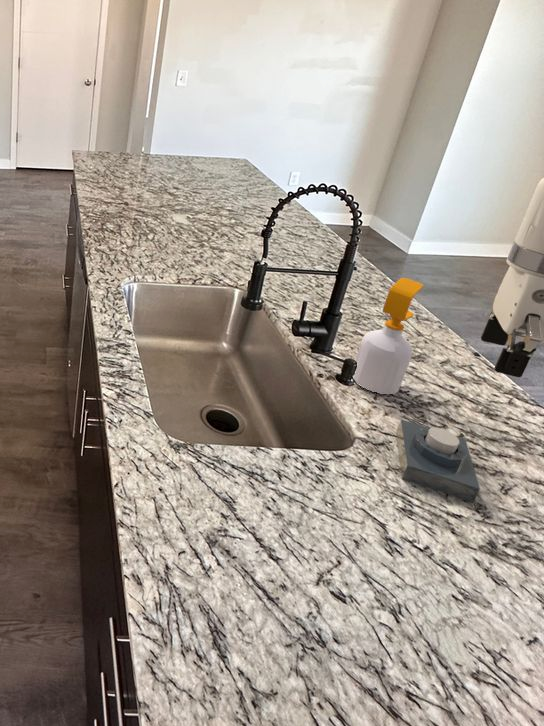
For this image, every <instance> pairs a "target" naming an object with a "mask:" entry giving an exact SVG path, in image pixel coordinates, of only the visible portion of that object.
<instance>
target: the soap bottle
mask: <svg viewBox="0 0 544 726" xmlns="http://www.w3.org/2000/svg"><path fill="white" fill-rule="evenodd" d="M423 288H424V284H422V283H421V282H418V281H415V280H413V279H410V278H407V277H400V278H399V279H398V280H397V281H396V282H395V283H394V284H392V285H391V287H390V289H389V291H388V293H387V296H386V299H385V301H384V304H383V308H382V312H383V313H385V314H388V315H389V317H390V318H391V319H387V320H386V321H385V322H384V325H383V328H382V329H374V330H370V331H367V332H366V333H365V334H364V335H363V337H362V340H361V343H360V346H359V349H358V352H357V354H356V358H355V361H356V362H357V369H356V371H355V377H354V379H355V381H356V382H357V383H358V384H360V385H361V386H363V387H364V388H367V389H369V390H371V391H372V392H377V393H380V394H393V395H395V394H397V393H398V392H399V391H400V388H401V385H402V383H403V380H404V377H405V375H406V372H407V369H408V367H409V365H410V362H411V360H412V357H413V346H412V345H411V343H410V341H409V340H408V339H406V337H404V336H403V335H402V334H403V331H404V329H405V325H404V324H402V322H404V321H405V322H406V321H407V320H409V319H411V318H412V317H414V315H415V314H414V312H412V311H410V310H409V308H410V306H411V304H412V301H413V299H414V298H415V296H416V295H417V294H418V293H419V292H420V291H421V290H422V289H423ZM355 361H354V362H355ZM372 392H371V393H372Z"/></svg>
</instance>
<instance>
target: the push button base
mask: <svg viewBox="0 0 544 726" xmlns="http://www.w3.org/2000/svg"><path fill="white" fill-rule="evenodd" d="M431 428H432V427H429V426H425V425H422V424H418V423H415V422H411V421H408V420H406V419H405V420H404V419H401V418H400V420H399V423H398V426H397V428H396V430H395V437H396V436H397V438H396V446H397V445H398V446H397V453H398V460H399V468H400V477H401V480H403V481H406V482H409V483H412V484H416V485H418V486H420V487H424V488H427V489H430V490H432V491H436V492H439V493H441V494H445V495H448V496H451V497H454V498H457V499H460V500H463V501H466V502H468V503H472V504H473V503H474V502H475V500H476V499H477V496H478V494H479V492H480V490H481V488H480V487H481V486H480V484H479V480H478V477H477V474H476V471H475V468H474V464H473V463H474V462H473V460H472V457H471V453H470V450H469V447H468V443H467V439H466V437H462V436H459V435H455V436H456V437H457V438H458V439H459V442H460V443H459V445H458V448H457V450H456V452H455V453H454V454H445V453H442V452H439V451H437V450H435V449H434V448H432V447H430V446H429V445H428V444H427V443H426V441H425V438H426V436H427V433H428V431H429V429H431Z"/></svg>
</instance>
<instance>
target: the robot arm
mask: <svg viewBox="0 0 544 726" xmlns="http://www.w3.org/2000/svg"><path fill="white" fill-rule="evenodd" d="M505 262H506V264H507V265H508V266H509V267H508V269H507V271H506V273H505V275H504V277H503V279H502V280H501V283H500V286H499V287H498V290H497V293H496V295H495V298H494V300H493V303H492V311H490V313H489V318H488V319H487V322H486V324H485V326H484V329H483V331H482V333H481V336H480V340H481V341H482V342H485V343H489V344H493V345H498V346H505V345H506V347H503V348H502V350H501V352H500V354H499V356H498V359H497V361H496V363H495V366H494V371H495V373H499V374H502V375H507V376H511V377H515V378H521V377H522V376H523V375H524V373H525V370H526V368H527V366H528V365H529V362H530V360H531V358H532V357H533V356H534V353H535V352H536V351H537V347H538V346H539V345H540V344H541V343H544V177H542V178H541V180H539V182H538V184H537V186H536V187H535V190H534V192H533V195H532V197H531V200H530V202H529V205H528V207H527V210H526V212H525V215H524V216H523V220H522V222H521V224H520V226H519V229H518V231H517V234H516V236H515V238H514V241H513V244H512V246H511V247H510V251H509V253H508V255H507V258H506V260H505ZM516 330H518V331H516ZM521 331H523V332H521ZM516 339H522V340H523V341H521V340H520V341H518V342H516V341H517V340H516Z"/></svg>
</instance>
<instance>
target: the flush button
mask: <svg viewBox="0 0 544 726" xmlns="http://www.w3.org/2000/svg"><path fill="white" fill-rule="evenodd" d="M430 428H431V429H429V431H428V433H427V436H426V438H425V441H426V443H427V444H428V445H429V446H430V447H432V448H434V449H435V450H437V451H439V452H442V453H445V454H454V453H455V452H456V450H457V448H458V445H459V443H460V442H459V439H458V438H457V437H456V436H457V435H456V434H454V433H452V432H451V431H449V430H447V429H445V428H441V427H430Z"/></svg>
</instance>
